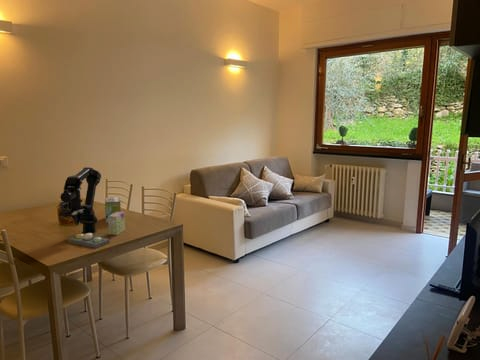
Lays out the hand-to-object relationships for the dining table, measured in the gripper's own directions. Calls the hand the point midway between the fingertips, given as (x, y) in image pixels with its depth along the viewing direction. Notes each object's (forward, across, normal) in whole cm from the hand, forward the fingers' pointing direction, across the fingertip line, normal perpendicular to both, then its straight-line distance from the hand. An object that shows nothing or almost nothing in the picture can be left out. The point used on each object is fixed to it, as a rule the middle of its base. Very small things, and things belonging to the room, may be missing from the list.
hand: (77, 224), depth 206 cm
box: (+10, -21, +10) cm, 25 cm away
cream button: (+8, 0, +8) cm, 11 cm away
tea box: (+10, -42, -13) cm, 45 cm away
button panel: (+9, 0, +8) cm, 12 cm away
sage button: (+9, 0, +15) cm, 18 cm away
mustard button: (+9, 0, +1) cm, 9 cm away
